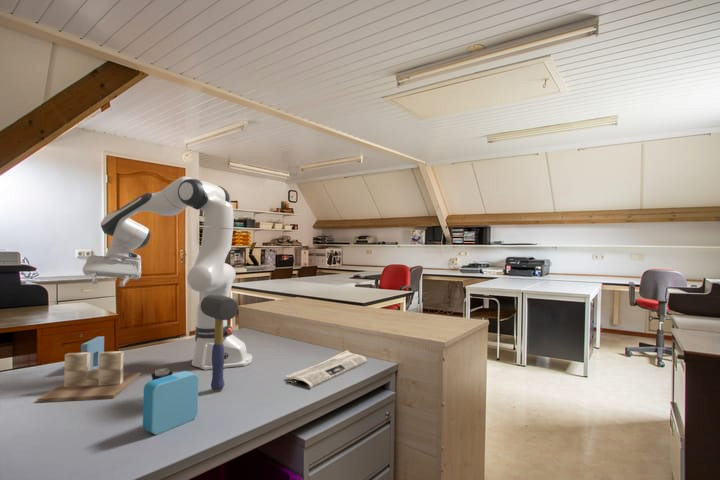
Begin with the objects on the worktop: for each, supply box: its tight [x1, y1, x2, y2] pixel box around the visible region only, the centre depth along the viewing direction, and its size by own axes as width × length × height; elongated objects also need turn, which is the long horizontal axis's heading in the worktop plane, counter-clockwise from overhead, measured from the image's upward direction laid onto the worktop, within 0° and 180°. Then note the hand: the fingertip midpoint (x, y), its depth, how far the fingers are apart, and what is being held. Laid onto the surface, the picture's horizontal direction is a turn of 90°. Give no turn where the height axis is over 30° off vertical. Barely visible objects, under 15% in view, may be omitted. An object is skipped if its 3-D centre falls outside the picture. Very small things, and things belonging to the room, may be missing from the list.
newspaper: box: [285, 349, 368, 390], centre depth 137 cm, size 35×12×4 cm, turn 146°
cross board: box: [36, 350, 142, 403], centre depth 119 cm, size 20×20×11 cm
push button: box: [150, 367, 174, 381], centre depth 105 cm, size 7×5×10 cm
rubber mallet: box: [201, 295, 239, 392], centre depth 118 cm, size 12×8×30 cm, turn 49°
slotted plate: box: [80, 335, 105, 369], centre depth 138 cm, size 12×2×10 cm, turn 10°
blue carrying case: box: [142, 370, 199, 436], centre depth 95 cm, size 12×4×12 cm, turn 147°
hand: (108, 284), depth 149 cm, fingers open, 8 cm apart
